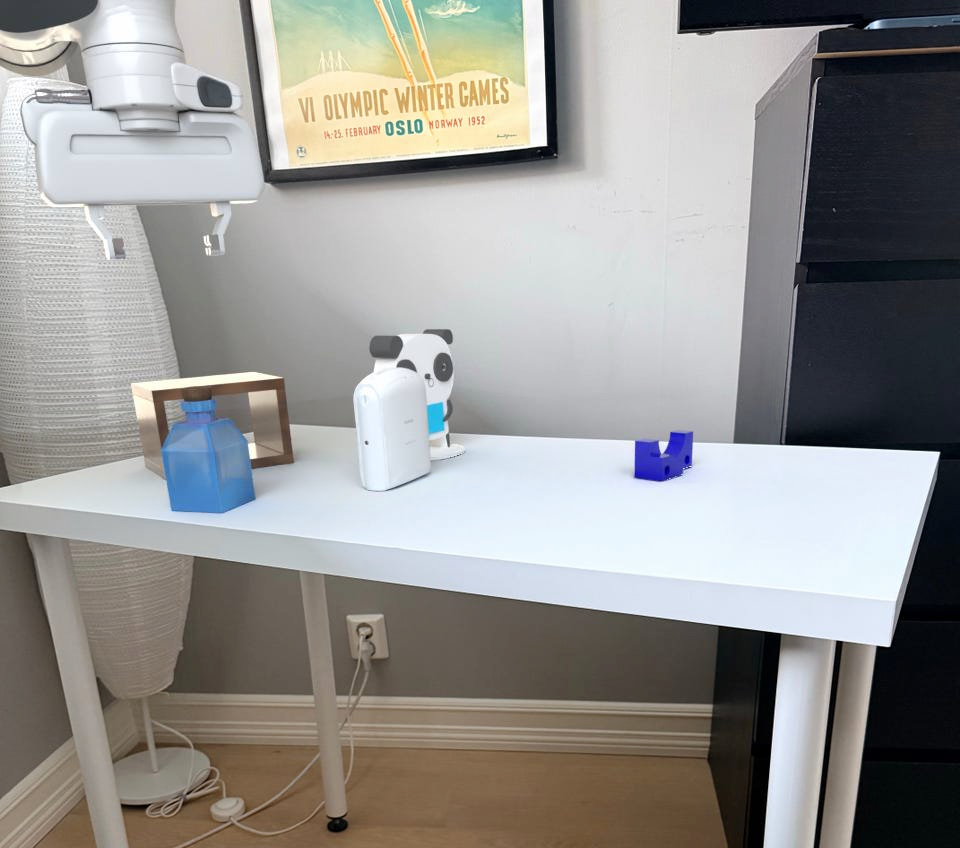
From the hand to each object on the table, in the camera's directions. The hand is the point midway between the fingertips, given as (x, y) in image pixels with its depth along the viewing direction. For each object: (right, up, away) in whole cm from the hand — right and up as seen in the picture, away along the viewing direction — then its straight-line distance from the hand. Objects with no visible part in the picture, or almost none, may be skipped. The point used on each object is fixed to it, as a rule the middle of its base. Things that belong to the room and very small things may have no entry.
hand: (167, 257), depth 89 cm
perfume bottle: (+2, -23, +9) cm, 24 cm away
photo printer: (+21, -19, +15) cm, 32 cm away
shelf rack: (-4, -14, +30) cm, 34 cm away
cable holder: (+51, -19, +13) cm, 56 cm away
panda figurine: (+22, -13, +31) cm, 40 cm away
